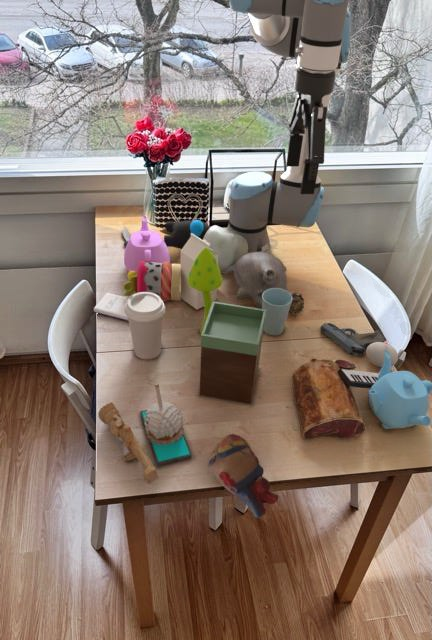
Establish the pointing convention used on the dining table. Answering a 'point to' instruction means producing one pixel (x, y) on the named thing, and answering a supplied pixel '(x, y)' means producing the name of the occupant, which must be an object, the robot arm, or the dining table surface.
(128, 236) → the knife
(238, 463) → the anatomical model
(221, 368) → the stand
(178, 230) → the toy
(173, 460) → the smartphone
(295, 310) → the pendant
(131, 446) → the figurine
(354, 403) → the cured meat
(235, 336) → the tray
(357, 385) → the midi keyboard
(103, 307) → the hard drive
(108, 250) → the dining table surface
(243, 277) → the piggy bank
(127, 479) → the dining table surface
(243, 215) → the robot arm
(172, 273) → the cake
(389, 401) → the teapot
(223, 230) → the planter
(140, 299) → the coffee cup
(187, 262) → the milk carton
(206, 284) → the mushroom
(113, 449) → the dining table surface
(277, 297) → the cup
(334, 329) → the handgun
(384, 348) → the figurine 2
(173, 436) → the decorative ornament
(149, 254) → the teapot
